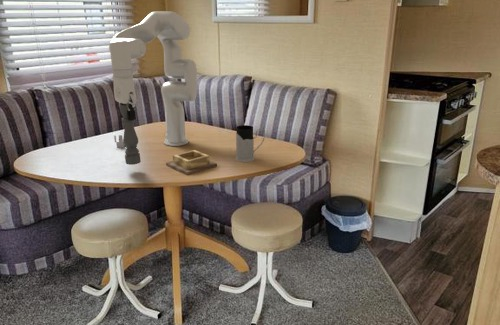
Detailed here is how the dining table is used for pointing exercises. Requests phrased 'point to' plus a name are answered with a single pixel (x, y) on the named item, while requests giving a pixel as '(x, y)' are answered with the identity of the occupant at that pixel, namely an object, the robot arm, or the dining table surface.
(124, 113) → the candle holder
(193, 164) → the socket base
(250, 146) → the grey and black mug
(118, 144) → the architectural model
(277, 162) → the dining table surface
